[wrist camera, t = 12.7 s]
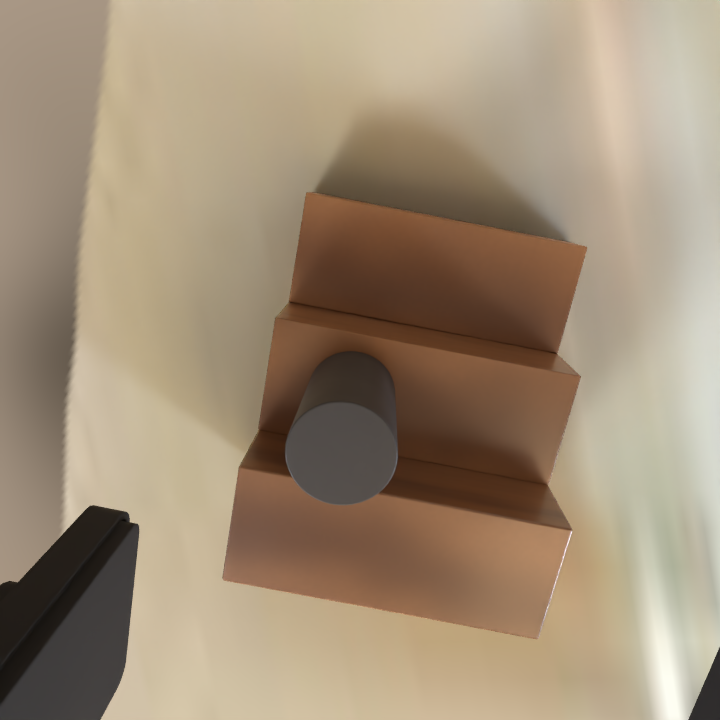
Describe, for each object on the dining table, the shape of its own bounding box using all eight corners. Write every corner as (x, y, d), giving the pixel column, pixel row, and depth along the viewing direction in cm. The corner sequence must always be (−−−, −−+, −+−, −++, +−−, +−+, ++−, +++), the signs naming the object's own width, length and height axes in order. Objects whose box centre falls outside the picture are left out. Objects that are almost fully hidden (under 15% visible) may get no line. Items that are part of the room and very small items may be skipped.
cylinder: (316, 343, 28) (294, 390, 21) (402, 359, 28) (408, 412, 21) (301, 424, 29) (276, 494, 22) (385, 440, 29) (385, 515, 23)
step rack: (313, 192, 33) (279, 192, 23) (570, 242, 33) (656, 266, 23) (267, 470, 38) (221, 580, 27) (495, 514, 38) (538, 640, 27)
